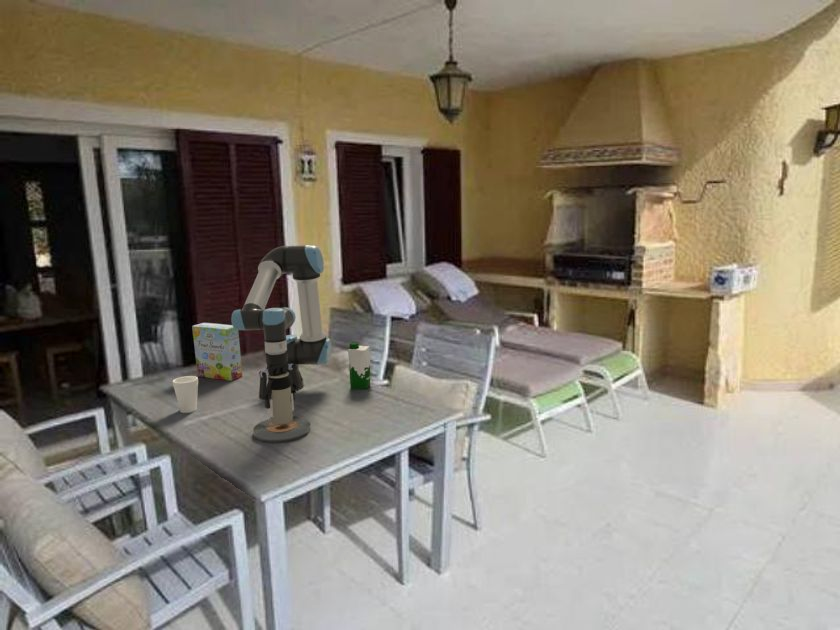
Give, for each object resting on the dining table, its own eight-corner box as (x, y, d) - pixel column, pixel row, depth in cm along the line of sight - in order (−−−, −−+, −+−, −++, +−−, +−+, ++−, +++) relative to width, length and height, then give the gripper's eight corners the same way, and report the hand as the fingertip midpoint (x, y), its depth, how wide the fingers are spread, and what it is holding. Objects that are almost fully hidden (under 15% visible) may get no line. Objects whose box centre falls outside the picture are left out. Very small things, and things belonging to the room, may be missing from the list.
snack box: (196, 377, 273) (190, 325, 268) (209, 372, 281) (204, 322, 276) (231, 381, 264) (226, 328, 260) (243, 376, 272) (239, 324, 267)
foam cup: (178, 416, 222) (175, 384, 219) (174, 409, 229) (170, 378, 227) (203, 410, 227) (200, 380, 224) (198, 404, 235) (195, 374, 232)
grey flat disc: (289, 417, 218) (289, 411, 217) (321, 430, 204) (320, 424, 204) (243, 432, 204) (242, 427, 203) (273, 448, 190) (273, 441, 190)
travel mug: (268, 426, 199) (264, 377, 196) (273, 417, 207) (269, 370, 204) (290, 425, 200) (287, 376, 196) (294, 416, 207) (291, 370, 204)
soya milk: (353, 383, 258) (351, 340, 254) (372, 383, 257) (371, 341, 253) (348, 389, 250) (345, 345, 246) (367, 389, 248) (365, 346, 244)
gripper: (256, 360, 188) (261, 424, 193) (306, 347, 203) (310, 407, 208) (244, 356, 193) (249, 418, 198) (294, 344, 208) (298, 402, 213)
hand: (280, 412), depth 203 cm, fingers closed on travel mug, 8 cm apart
